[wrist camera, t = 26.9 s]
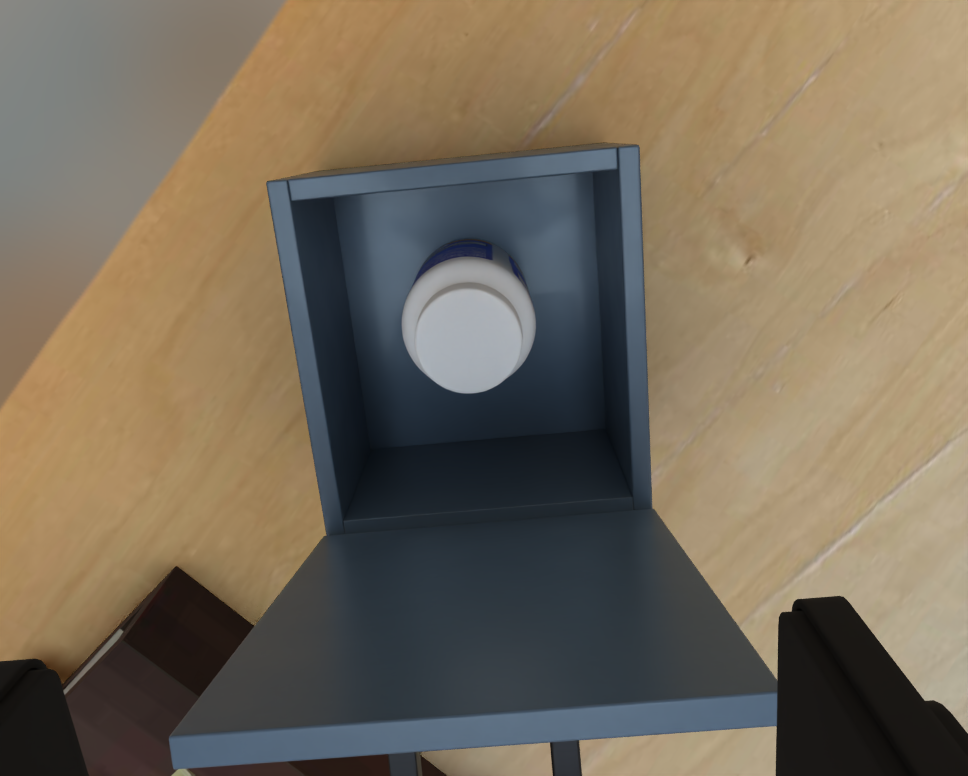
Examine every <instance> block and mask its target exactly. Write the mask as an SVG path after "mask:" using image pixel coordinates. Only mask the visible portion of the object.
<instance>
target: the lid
mask: <svg viewBox="0 0 968 776" xmlns="http://www.w3.org/2000/svg"><path fill="white" fill-rule="evenodd" d="M768 726H777V679H776V678H775V677H774V675H773V674H772V672H771V671H770V670H769V668H768V667H767V665H766V664H765V663H764V661H763V660H762V658H761V657H760V656H759V654H758V653H757V652H756V650H755V649H754V647H753V646H752V645H751V643H750V642H749V640H748V639H747V638H746V636H745V635H744V633H743V632H742V631H741V629H740V628H739V626H738V625H737V624H736V622H735V621H734V620H733V618H732V617H731V615H730V614H729V613H728V611H727V610H726V608H725V607H724V606H723V604H722V603H721V601H720V600H719V599H718V597H717V596H716V595H715V593H714V592H713V590H712V589H711V588H710V586H709V585H708V583H707V582H706V581H705V579H704V578H703V576H702V575H701V574H700V572H699V571H698V569H697V568H696V567H695V565H694V564H693V563H692V561H691V560H690V558H689V557H688V556H687V554H686V553H685V551H684V550H683V549H682V547H681V546H680V544H679V543H678V542H677V540H676V539H675V537H674V536H673V535H672V533H671V532H670V531H669V529H668V528H667V526H666V525H665V524H664V522H663V521H662V519H661V518H660V517H659V515H658V514H657V512H656V511H655V510H654V509H644V510H632V511H620V512H608V513H596V514H584V515H572V516H560V517H547V518H535V519H523V520H511V521H499V522H487V523H475V524H463V525H451V526H438V527H426V528H414V529H402V530H390V531H378V532H366V533H354V534H341V535H329V536H324V537H323V538H322V540H321V541H320V542H319V543H318V545H317V546H316V547H315V549H314V550H313V551H312V552H311V554H310V555H309V556H308V558H307V559H306V560H305V562H304V563H303V564H302V565H301V567H300V568H299V569H298V571H297V572H296V573H295V574H294V576H293V577H292V578H291V580H290V581H289V582H288V584H287V585H286V586H285V587H284V589H283V590H282V591H281V593H280V594H279V595H278V596H277V598H276V599H275V600H274V602H273V603H272V604H271V606H270V607H269V608H268V609H267V611H266V612H265V613H264V615H263V616H262V617H261V618H260V620H259V621H258V622H257V624H256V625H255V626H254V628H253V629H252V630H251V631H250V633H249V634H248V635H247V637H246V638H245V639H244V640H243V642H242V643H241V644H240V646H239V647H238V648H237V650H236V651H235V652H234V653H233V655H232V656H231V657H230V659H229V660H228V661H227V662H226V664H225V665H224V666H223V668H222V669H221V670H220V672H219V673H218V674H217V675H216V677H215V678H214V679H213V681H212V682H211V683H210V684H209V686H208V687H207V688H206V690H205V691H204V692H203V694H202V695H201V696H200V697H199V699H198V700H197V701H196V703H195V704H194V705H193V707H192V708H191V709H190V710H189V712H188V713H187V714H186V716H185V717H184V718H183V719H182V721H181V722H180V723H179V725H178V726H177V727H176V729H175V730H174V731H173V732H172V734H171V735H170V736H169V744H170V751H171V758H172V765H173V769H189V768H203V767H216V766H230V765H244V764H258V763H272V762H285V761H299V760H313V759H327V758H341V757H354V756H368V755H382V754H388V762H389V771H390V776H422V767H421V757H420V752H423V751H437V750H451V749H465V748H479V747H492V746H506V745H520V744H534V743H548V742H550V747H551V758H552V770H553V776H582V771H581V759H580V747H579V740H589V739H603V738H617V737H630V736H644V735H658V734H672V733H686V732H699V731H713V730H727V729H741V728H755V727H768Z"/></svg>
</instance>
